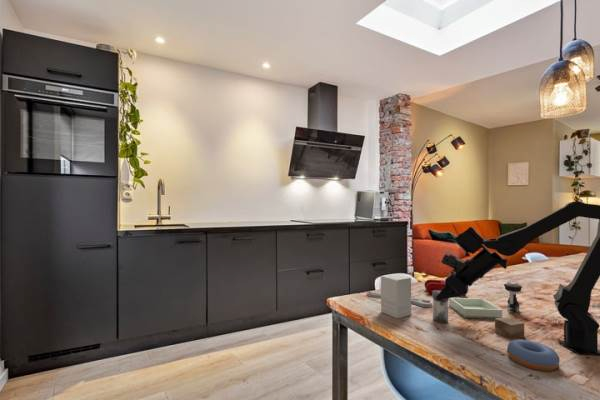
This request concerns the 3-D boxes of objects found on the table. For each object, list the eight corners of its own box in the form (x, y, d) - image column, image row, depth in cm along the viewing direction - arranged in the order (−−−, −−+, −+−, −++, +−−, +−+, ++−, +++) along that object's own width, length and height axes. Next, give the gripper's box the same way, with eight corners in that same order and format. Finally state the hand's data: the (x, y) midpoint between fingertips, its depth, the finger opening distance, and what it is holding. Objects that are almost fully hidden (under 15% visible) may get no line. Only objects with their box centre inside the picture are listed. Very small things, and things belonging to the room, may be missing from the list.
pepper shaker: (451, 323, 95) (451, 294, 95) (435, 322, 95) (435, 294, 95) (445, 317, 100) (445, 290, 100) (430, 317, 100) (430, 290, 100)
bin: (502, 319, 99) (502, 309, 99) (464, 317, 100) (464, 308, 100) (482, 306, 111) (482, 298, 111) (449, 305, 112) (449, 297, 112)
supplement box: (411, 315, 102) (412, 277, 102) (396, 319, 98) (396, 280, 99) (395, 308, 108) (395, 273, 109) (380, 311, 105) (380, 275, 105)
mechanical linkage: (426, 294, 126) (426, 282, 126) (424, 290, 133) (424, 278, 133) (468, 298, 122) (468, 286, 122) (464, 293, 129) (464, 281, 129)
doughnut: (552, 377, 65) (551, 355, 65) (500, 360, 73) (499, 341, 73) (566, 368, 71) (565, 347, 71) (516, 353, 79) (515, 335, 79)
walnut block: (524, 337, 86) (524, 323, 86) (511, 339, 84) (511, 325, 84) (507, 330, 91) (507, 316, 91) (494, 332, 89) (494, 318, 89)
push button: (518, 315, 102) (518, 286, 102) (500, 311, 106) (500, 283, 107) (524, 311, 106) (524, 283, 107) (506, 307, 111) (506, 280, 111)
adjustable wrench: (365, 296, 124) (365, 292, 124) (371, 293, 129) (371, 289, 129) (430, 309, 109) (430, 304, 109) (434, 304, 114) (434, 300, 114)
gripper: (461, 242, 103) (426, 270, 109) (454, 248, 87) (414, 280, 93) (488, 268, 98) (450, 296, 104) (486, 279, 83) (441, 311, 89)
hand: (439, 295), depth 98 cm, fingers open, 9 cm apart
